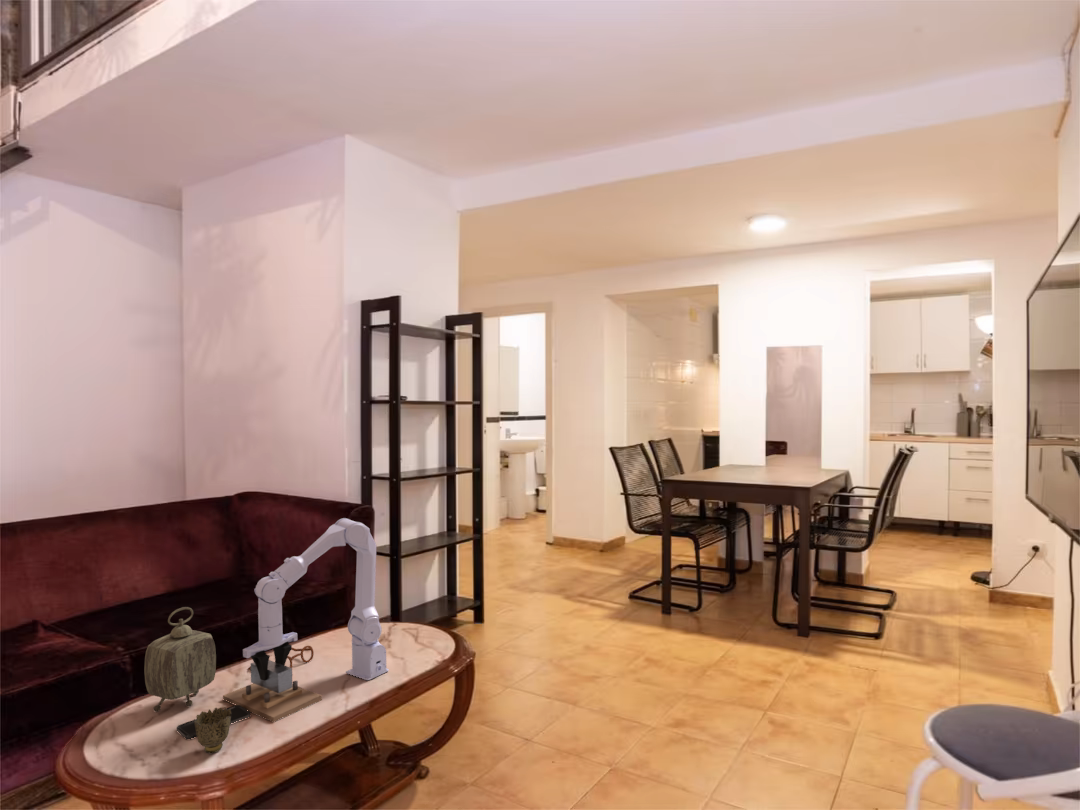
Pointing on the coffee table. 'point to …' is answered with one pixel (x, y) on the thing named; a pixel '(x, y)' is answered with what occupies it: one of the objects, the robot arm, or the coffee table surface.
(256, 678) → the metal bar
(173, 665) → the tabletop clock
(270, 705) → the peg rack
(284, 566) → the robot arm
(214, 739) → the cup
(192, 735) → the phone
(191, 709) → the coffee table surface
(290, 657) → the glasses
